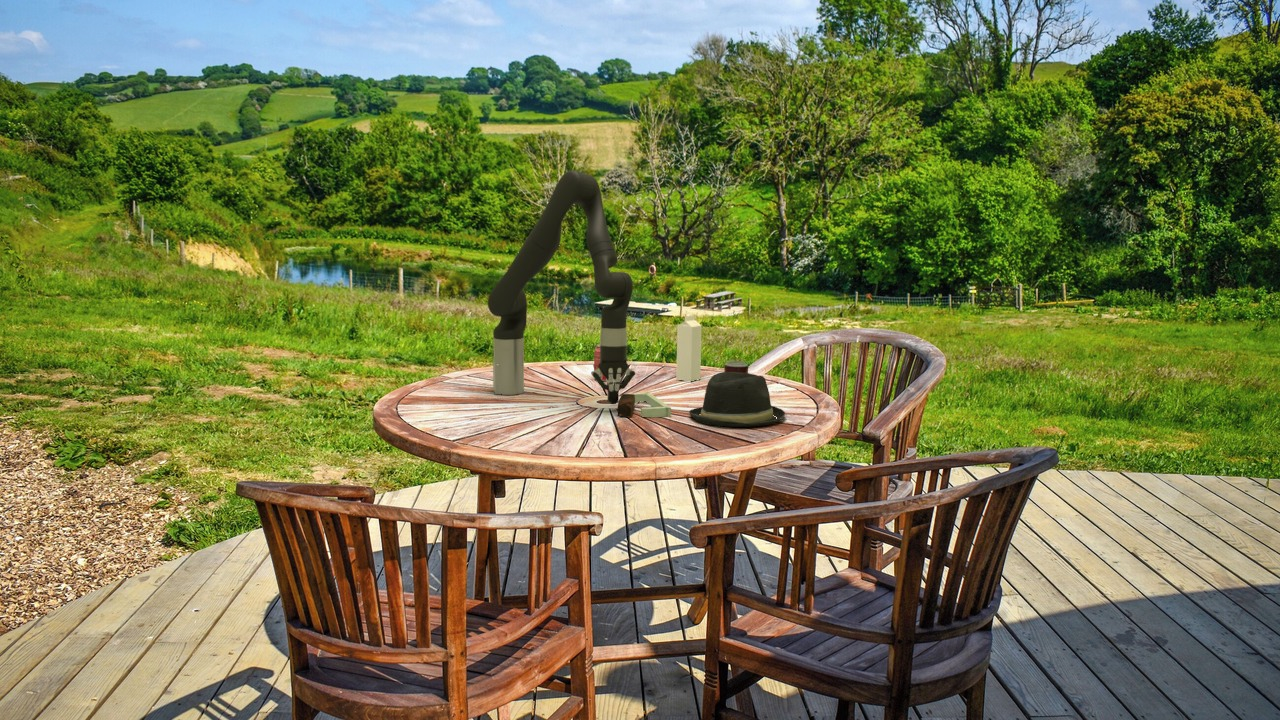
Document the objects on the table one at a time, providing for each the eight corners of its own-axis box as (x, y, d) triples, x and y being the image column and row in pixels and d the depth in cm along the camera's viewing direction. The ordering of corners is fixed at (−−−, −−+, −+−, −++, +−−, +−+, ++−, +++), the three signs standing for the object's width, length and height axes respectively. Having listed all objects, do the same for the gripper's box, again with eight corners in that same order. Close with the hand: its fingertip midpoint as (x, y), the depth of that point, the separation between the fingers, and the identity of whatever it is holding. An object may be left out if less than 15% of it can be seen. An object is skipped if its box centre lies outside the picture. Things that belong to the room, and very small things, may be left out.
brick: (621, 409, 247) (621, 393, 246) (635, 409, 247) (635, 393, 246) (617, 417, 236) (617, 401, 236) (631, 418, 236) (631, 401, 235)
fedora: (803, 420, 238) (805, 375, 236) (736, 435, 220) (738, 387, 218) (737, 404, 256) (739, 363, 254) (670, 417, 238) (671, 373, 236)
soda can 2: (725, 404, 254) (726, 364, 252) (721, 399, 261) (723, 360, 259) (748, 405, 255) (750, 364, 253) (744, 400, 262) (746, 360, 260)
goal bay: (642, 417, 236) (642, 409, 236) (622, 402, 256) (622, 393, 256) (670, 416, 238) (671, 407, 238) (649, 400, 258) (649, 392, 258)
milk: (676, 380, 292) (676, 316, 288) (686, 378, 297) (686, 314, 293) (691, 382, 288) (692, 317, 285) (700, 380, 293) (702, 315, 289)
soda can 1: (616, 378, 294) (616, 343, 292) (613, 382, 287) (613, 347, 285) (595, 377, 294) (595, 343, 292) (592, 381, 287) (592, 346, 285)
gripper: (632, 341, 246) (631, 400, 249) (587, 342, 243) (587, 401, 246) (639, 344, 239) (638, 405, 242) (593, 345, 236) (593, 407, 239)
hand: (612, 403), depth 244 cm, fingers closed
